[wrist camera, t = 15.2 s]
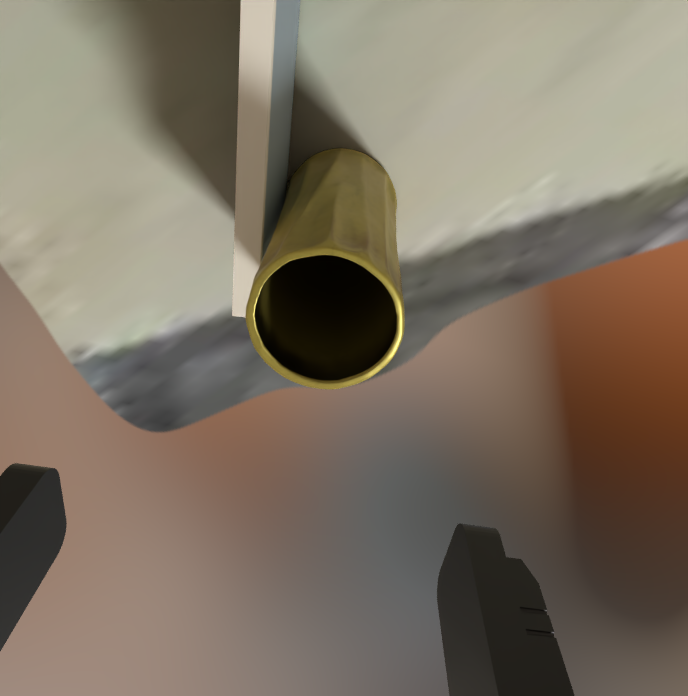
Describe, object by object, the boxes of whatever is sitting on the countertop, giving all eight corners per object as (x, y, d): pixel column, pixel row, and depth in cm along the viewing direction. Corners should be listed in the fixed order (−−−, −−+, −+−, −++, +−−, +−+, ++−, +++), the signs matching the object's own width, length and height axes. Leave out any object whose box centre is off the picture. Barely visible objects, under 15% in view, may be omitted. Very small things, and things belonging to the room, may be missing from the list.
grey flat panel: (276, -41, 24) (236, -76, 17) (307, -36, 24) (281, -69, 17) (261, 249, 31) (228, 316, 24) (285, 252, 31) (260, 321, 24)
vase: (308, 128, 28) (264, 200, 16) (415, 174, 29) (454, 277, 17) (271, 234, 31) (209, 366, 18) (369, 273, 32) (373, 423, 19)
